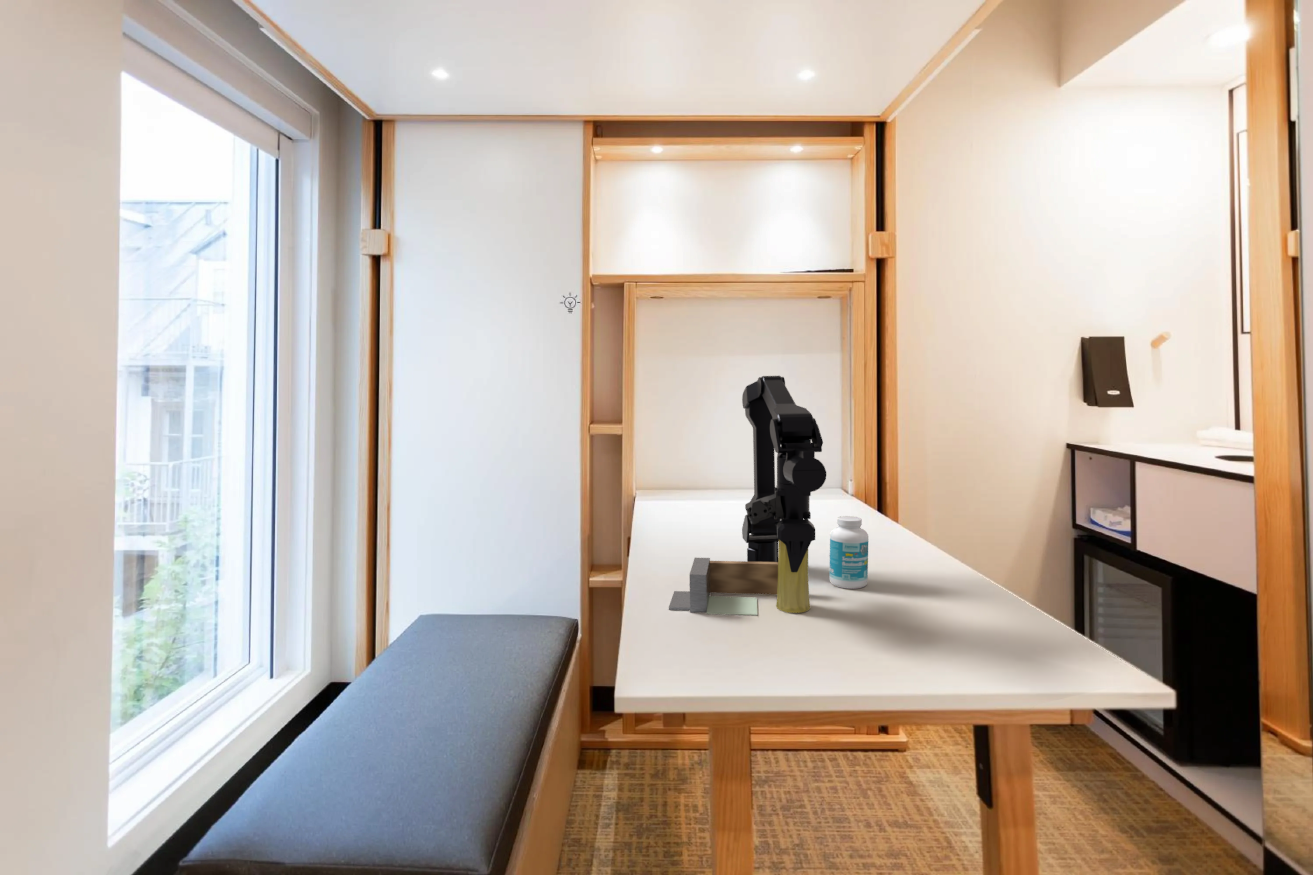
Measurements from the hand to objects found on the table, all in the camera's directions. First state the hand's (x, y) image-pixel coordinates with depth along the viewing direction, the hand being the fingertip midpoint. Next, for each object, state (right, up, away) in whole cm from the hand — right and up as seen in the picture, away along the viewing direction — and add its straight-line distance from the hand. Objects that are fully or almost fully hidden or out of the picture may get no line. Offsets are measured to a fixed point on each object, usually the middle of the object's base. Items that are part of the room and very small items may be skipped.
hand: (793, 567), depth 121 cm
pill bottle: (+14, -6, +14) cm, 20 cm away
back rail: (-7, -7, +10) cm, 14 cm away
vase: (0, -8, +1) cm, 8 cm away
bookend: (-18, -7, +5) cm, 20 cm away
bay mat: (-11, -8, +2) cm, 13 cm away
